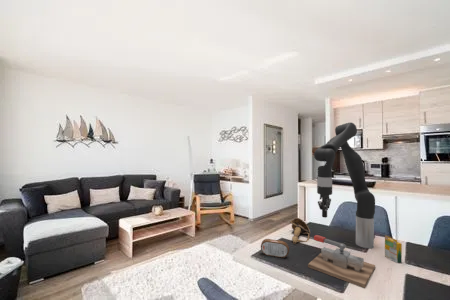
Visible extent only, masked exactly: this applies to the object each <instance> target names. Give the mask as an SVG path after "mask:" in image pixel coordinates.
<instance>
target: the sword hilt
mask: <svg viewBox="0 0 450 300" xmlns="http://www.w3.org/2000/svg"><path fill="white" fill-rule="evenodd" d="M289 223H290V224H291V229H292V230H293V231H294V232H293V236H292V237H291V240H292V244H294V245H296V244H297V243H306V242H308V241H309V240H310V235H311V230H310V228H309V226H308V224H307V223H306V222H305V221H304V220H303V219H302V218H299V217H295V218H293V219H291V220H290V221H289ZM301 234H302V235H307V238H306V240H303V239H302V240H301V239H299V236H300V235H301Z"/></svg>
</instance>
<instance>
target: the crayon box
mask: <svg viewBox="0 0 450 300" xmlns="http://www.w3.org/2000/svg"><path fill="white" fill-rule="evenodd" d="M402 248H403V245H402V243H401V242H398V240H397V239H395V238H393V237H391V236H388V235H384V258H386V259H389V260H390V261H392V262H394V263H396V264H401V263H403V261H402V257H403V256H402V255H403V254H402V253H403V249H402Z"/></svg>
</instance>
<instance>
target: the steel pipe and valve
mask: <svg viewBox="0 0 450 300" xmlns="http://www.w3.org/2000/svg"><path fill="white" fill-rule="evenodd" d="M320 251H321V252H320V253H321V256H322V257H324V260H325V261H329V260H330V259H331V260H333V265H335V266H338V267H341V268H344V269H347V268H348V267H349V265H350V266H353V267H355V271H358V272H360V271H361V269H362V268H363V267H364V262H365V258H363V257H359V256H356V255H353V254H351V252H350V251H348V250H345V249H344V252H340V248H339V247H338V248H336V249H332V248H329V247H326V246H325V247H324V246H323V247H322V248H321V250H320Z"/></svg>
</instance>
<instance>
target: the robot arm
mask: <svg viewBox="0 0 450 300" xmlns="http://www.w3.org/2000/svg"><path fill="white" fill-rule="evenodd" d="M334 133H335V136H333V137H332V138H330V139H329V140H328V141H327V142H326V143H325V144H322V145H321V146H319V147H318V148H317V149H315V151H314V153H313V158H314V159H315V160H316V161H317V162H325V164H324V165H320V166H318V167H317V180H316V184H317V185H316V193H317V194H318V195H319V200H318V201H317V205H318V207H319V209H320V210H321V216H322V218H324V219H326V218H328V211H329V209H330V205H331V202H332V198H330V196H331V195H333V176H332V175H333V172H332V170H333V166H334V162H335V159H336V153H337V152H338V150H341V152H342V156H343V160H344V163H345V166H346V169H347V173H348V175H349V178H350V180H351V183H352V188H353V193H354V199H355V200H356V211H355V245H356V246H357V247H361V248H364V249H373V248H374V244H375V243H374V242H375V241H374V240H375V237H374V235H375V234H374V233H375V232H374V231H375V229H374V228H375V227H374V226H375V225H374V224H375V221H374V220H375V217H374V216H375V213H376V198H375V197H376V196H375V195H374V194H373V193H372V192H370V189H369V188H368V185H367V182H366V173H365V172H366V171H365V170H366V169H365V165H364V161H363V159H362V156H361V155H360V154H359V153H358V152H357V151H355V150H354V148H352V147H351V145H350V144H349V142H348V141H349V140H351V139H352V138H354V137H356V135H357V133H358V128H357V126H356V124H355V123H353V122H346V123H343V124H339V125H337V126H336V127H335V129H334Z"/></svg>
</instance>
